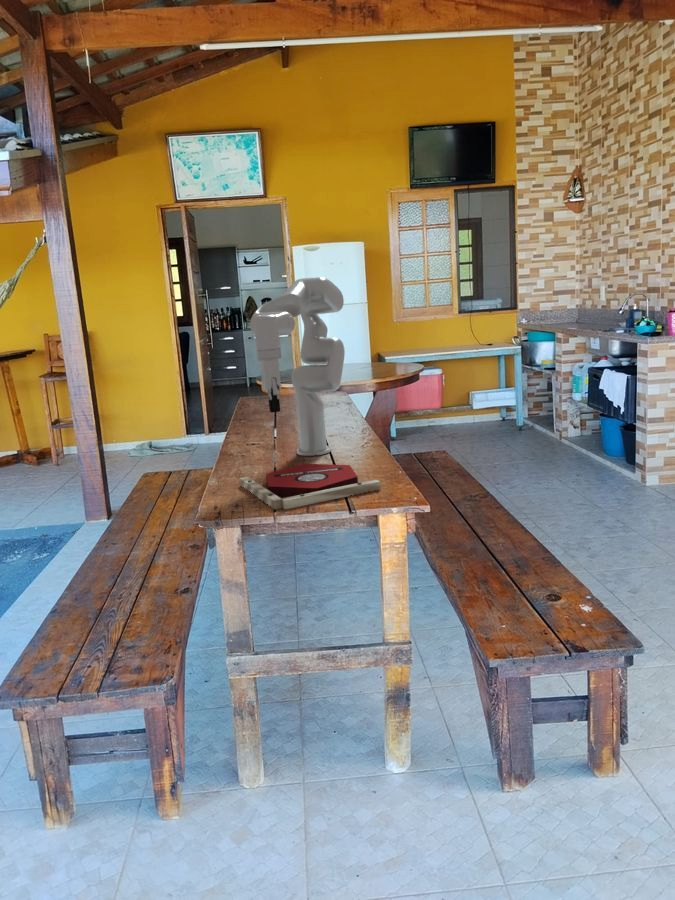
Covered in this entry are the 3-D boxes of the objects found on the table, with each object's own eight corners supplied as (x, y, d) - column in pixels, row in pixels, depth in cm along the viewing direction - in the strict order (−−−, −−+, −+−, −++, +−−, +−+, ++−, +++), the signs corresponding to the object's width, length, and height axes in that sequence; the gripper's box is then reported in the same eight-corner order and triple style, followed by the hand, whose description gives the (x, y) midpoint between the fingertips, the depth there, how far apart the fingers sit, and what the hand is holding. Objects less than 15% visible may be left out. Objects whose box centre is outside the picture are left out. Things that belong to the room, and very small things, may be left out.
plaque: (265, 478, 237) (271, 505, 208) (264, 468, 236) (270, 493, 207) (346, 469, 240) (363, 494, 211) (345, 459, 240) (362, 482, 211)
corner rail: (240, 486, 229) (239, 477, 228) (333, 468, 242) (333, 460, 241) (277, 511, 201) (276, 501, 200) (380, 489, 214) (379, 480, 213)
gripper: (254, 353, 237) (260, 409, 241) (260, 358, 223) (266, 417, 227) (277, 351, 239) (282, 406, 243) (284, 355, 224) (290, 414, 229)
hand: (275, 411), depth 235 cm, fingers closed
